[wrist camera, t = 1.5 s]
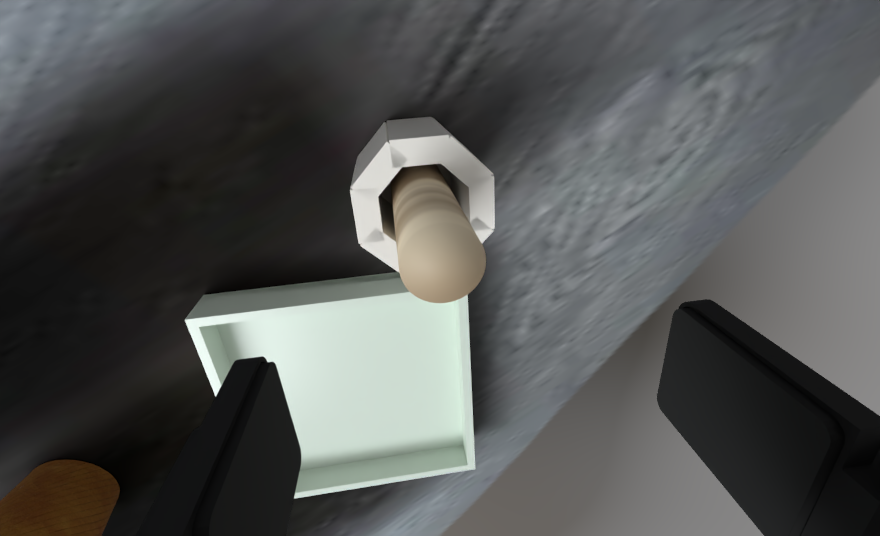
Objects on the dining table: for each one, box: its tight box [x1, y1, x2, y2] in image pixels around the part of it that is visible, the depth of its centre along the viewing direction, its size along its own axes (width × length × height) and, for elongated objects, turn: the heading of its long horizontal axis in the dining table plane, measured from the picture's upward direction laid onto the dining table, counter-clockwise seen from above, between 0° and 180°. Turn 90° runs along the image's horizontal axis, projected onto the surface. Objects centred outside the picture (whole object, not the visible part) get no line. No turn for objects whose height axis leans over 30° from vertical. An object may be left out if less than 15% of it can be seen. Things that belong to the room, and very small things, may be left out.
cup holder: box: [350, 117, 495, 272], centre depth 23 cm, size 7×7×7 cm
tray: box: [185, 272, 475, 498], centre depth 31 cm, size 17×17×3 cm
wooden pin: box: [390, 164, 486, 303], centre depth 20 cm, size 3×3×12 cm
